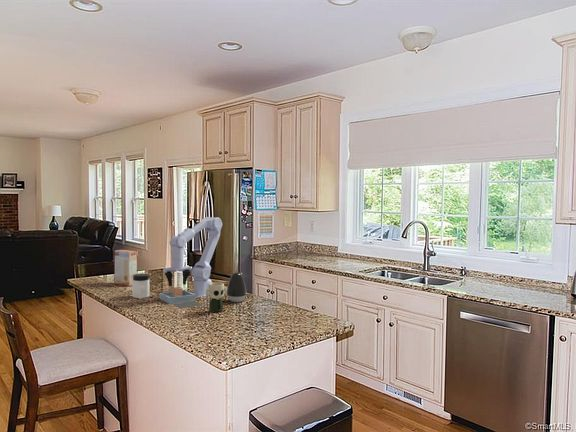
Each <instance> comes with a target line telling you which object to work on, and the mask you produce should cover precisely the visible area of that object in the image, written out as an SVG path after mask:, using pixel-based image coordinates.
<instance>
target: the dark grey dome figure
mask: <svg viewBox="0 0 576 432" xmlns="http://www.w3.org/2000/svg"><path fill="white" fill-rule="evenodd" d="M226 287H227V293H226V296H227V299H228V301H230V302H232V303H241V302H243V301H244V300H245V299H246V296H247V288H246V283H245V280H244V277H243V272H238V271H237V272H234V273H232V275H231V276H230V278H229V281H228V284H227V286H226Z"/></svg>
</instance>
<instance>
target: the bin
mask: <svg viewBox="0 0 576 432" xmlns="http://www.w3.org/2000/svg"><path fill="white" fill-rule="evenodd" d="M158 296H159V300H161V301H163V302H165V303H167V304H168V305H173V304H177V303H185V302H192V301H195V302H197V301H196V298H197V297H196V295H195V294H194V292H190V291H188V290H185V289H183V296H178V297H172V291H163V292H159V295H158Z"/></svg>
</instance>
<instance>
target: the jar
mask: <svg viewBox="0 0 576 432" xmlns="http://www.w3.org/2000/svg"><path fill="white" fill-rule="evenodd" d="M131 287H132V291H131V293H132V294H131V295H132V298H137V299H142V298H148V297H149V296H150V287H151V286H150V274H149V273H137V274H134V275H133V281H132V286H131Z"/></svg>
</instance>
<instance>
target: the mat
mask: <svg viewBox="0 0 576 432" xmlns="http://www.w3.org/2000/svg"><path fill="white" fill-rule="evenodd" d="M172 305H173V306H175V308H178V309H180V310H181V309H186V308H193V307H194V308H195V307H200V306H201V307H202V306H203V304H202V303H199V302H197V301H189V302H182V303H174V304H172Z"/></svg>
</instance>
